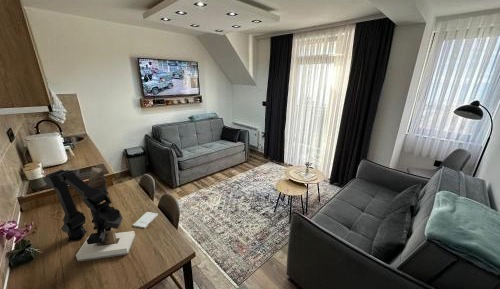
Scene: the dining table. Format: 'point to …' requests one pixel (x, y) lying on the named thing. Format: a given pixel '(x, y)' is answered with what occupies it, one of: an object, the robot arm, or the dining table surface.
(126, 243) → the slotted board
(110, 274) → the dining table surface
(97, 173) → the owl
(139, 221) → the external hard drive
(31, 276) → the dining table surface
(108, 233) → the walnut plate
